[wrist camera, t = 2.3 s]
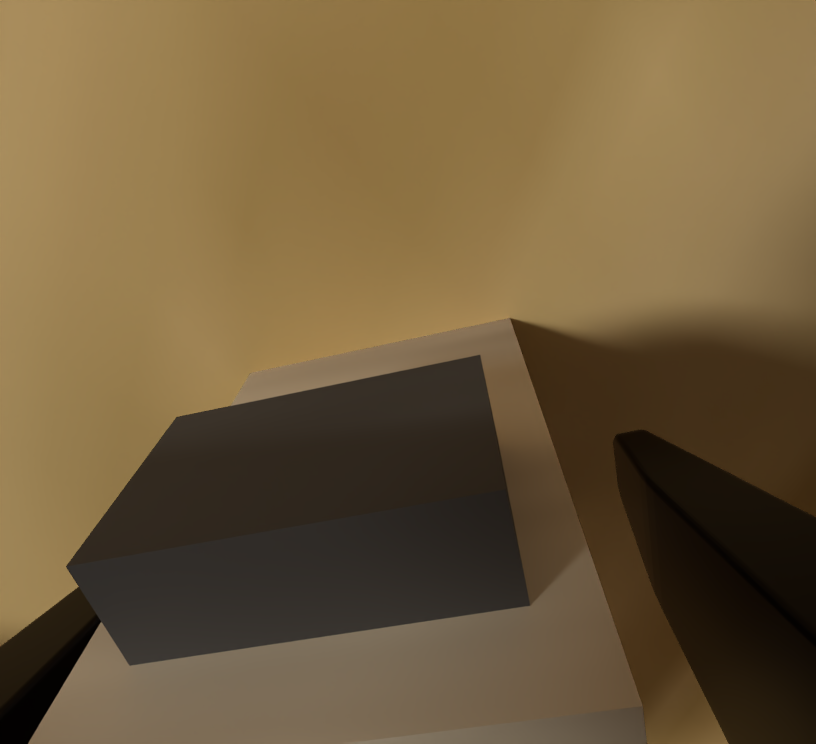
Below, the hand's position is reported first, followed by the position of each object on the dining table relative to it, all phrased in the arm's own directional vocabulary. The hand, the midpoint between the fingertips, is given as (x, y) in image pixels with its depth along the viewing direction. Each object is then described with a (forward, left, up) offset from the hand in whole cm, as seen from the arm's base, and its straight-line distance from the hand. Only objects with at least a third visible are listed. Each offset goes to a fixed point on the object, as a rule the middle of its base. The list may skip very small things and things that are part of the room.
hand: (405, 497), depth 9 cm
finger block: (0, 0, -1) cm, 1 cm away
